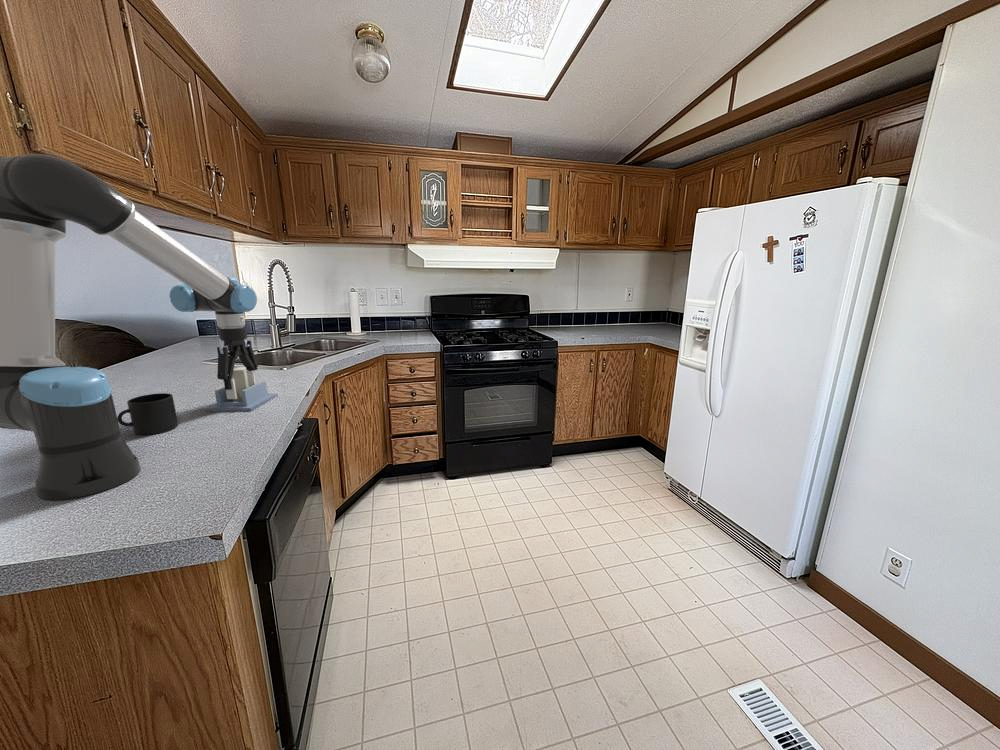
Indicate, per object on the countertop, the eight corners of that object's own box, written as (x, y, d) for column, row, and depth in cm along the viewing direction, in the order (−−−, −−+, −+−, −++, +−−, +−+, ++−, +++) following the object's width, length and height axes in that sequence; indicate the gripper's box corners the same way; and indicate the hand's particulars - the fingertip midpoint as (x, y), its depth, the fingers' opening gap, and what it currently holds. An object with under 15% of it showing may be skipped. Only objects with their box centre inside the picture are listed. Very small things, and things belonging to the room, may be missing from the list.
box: (236, 399, 134) (230, 367, 132) (251, 398, 136) (246, 366, 133) (233, 404, 130) (228, 370, 127) (248, 402, 131) (243, 369, 129)
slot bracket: (251, 411, 126) (248, 392, 125) (206, 411, 126) (202, 392, 124) (277, 396, 142) (275, 379, 140) (237, 396, 141) (235, 379, 140)
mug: (119, 432, 109) (111, 400, 107) (174, 420, 118) (168, 391, 115) (123, 441, 103) (115, 408, 101) (181, 428, 111) (175, 397, 109)
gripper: (220, 331, 117) (232, 404, 122) (263, 322, 139) (272, 384, 144) (194, 331, 116) (207, 404, 122) (241, 322, 138) (251, 384, 144)
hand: (242, 393), depth 133 cm, fingers open, 10 cm apart
